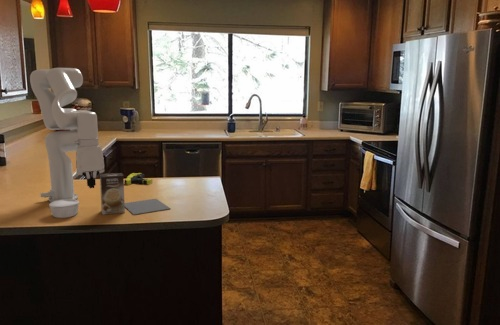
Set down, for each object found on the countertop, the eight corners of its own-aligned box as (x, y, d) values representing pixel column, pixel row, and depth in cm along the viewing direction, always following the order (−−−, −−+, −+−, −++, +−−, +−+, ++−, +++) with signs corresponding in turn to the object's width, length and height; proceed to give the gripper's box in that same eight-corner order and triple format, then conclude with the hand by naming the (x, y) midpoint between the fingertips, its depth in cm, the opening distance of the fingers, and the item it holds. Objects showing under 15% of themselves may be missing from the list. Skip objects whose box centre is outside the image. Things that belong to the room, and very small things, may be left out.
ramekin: (84, 211, 179) (83, 199, 178) (72, 219, 168) (71, 206, 167) (58, 210, 179) (57, 198, 178) (44, 218, 169) (43, 206, 168)
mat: (133, 215, 174) (133, 214, 174) (121, 204, 189) (121, 203, 189) (170, 209, 182) (170, 208, 182) (156, 199, 197) (156, 198, 197)
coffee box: (102, 215, 174) (100, 177, 170) (101, 210, 179) (99, 173, 176) (125, 212, 177) (123, 175, 174) (123, 208, 183) (121, 172, 180)
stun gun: (157, 172, 243) (131, 172, 242) (150, 180, 224) (121, 180, 223) (157, 177, 243) (131, 177, 243) (150, 185, 224) (122, 185, 224)
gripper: (70, 145, 161) (73, 191, 165) (110, 142, 169) (112, 187, 172) (67, 143, 168) (70, 187, 171) (105, 140, 175) (108, 183, 179)
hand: (91, 187), depth 172 cm, fingers closed
